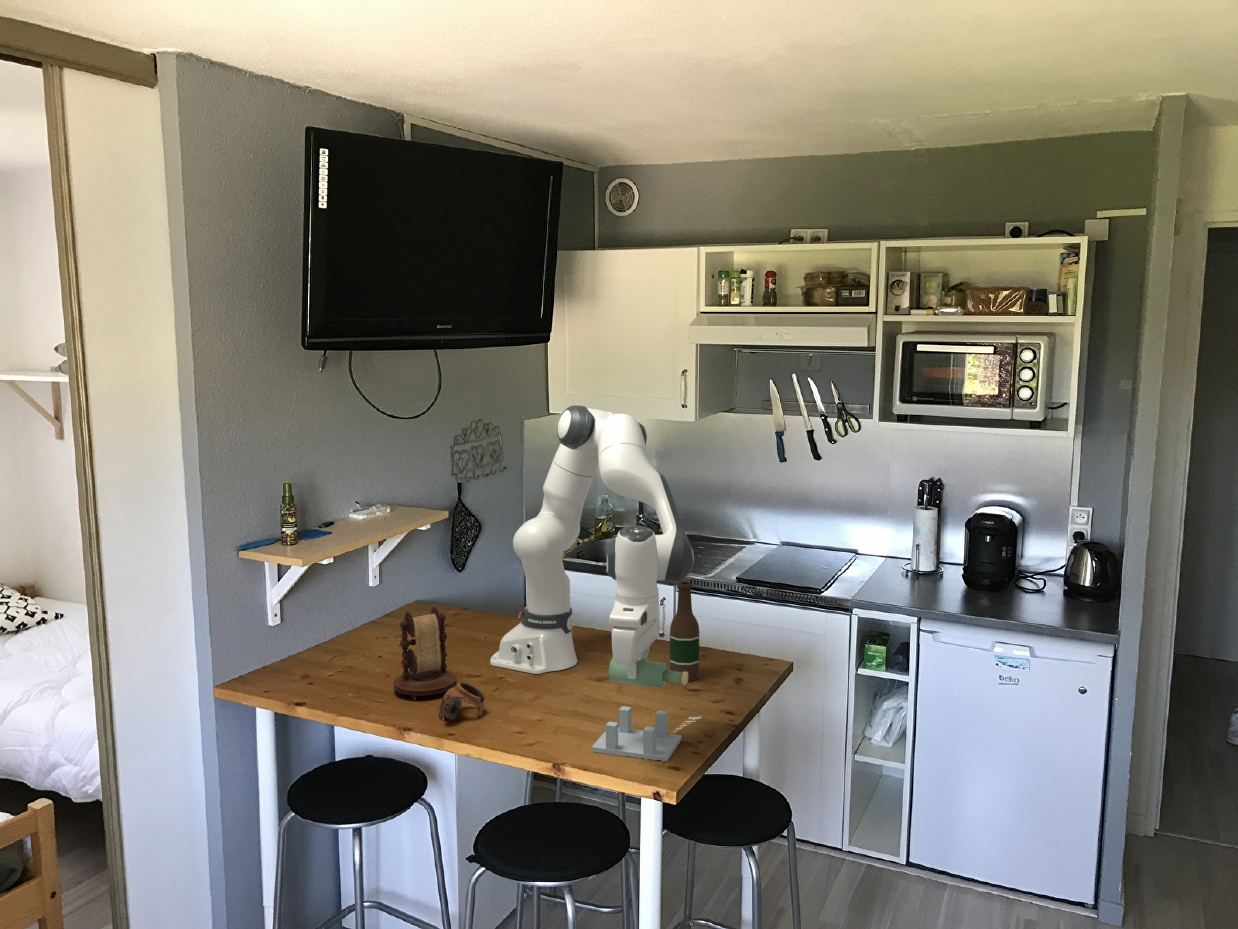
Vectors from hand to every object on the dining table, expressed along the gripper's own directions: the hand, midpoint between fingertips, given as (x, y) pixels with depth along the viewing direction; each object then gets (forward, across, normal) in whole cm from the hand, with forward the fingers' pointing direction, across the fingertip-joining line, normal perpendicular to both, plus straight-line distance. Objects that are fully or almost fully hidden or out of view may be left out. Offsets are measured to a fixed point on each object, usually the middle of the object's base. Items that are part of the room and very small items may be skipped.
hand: (637, 672), depth 203 cm
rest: (+16, 0, 0) cm, 16 cm away
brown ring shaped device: (+16, -3, -43) cm, 46 cm away
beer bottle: (+16, -42, -1) cm, 45 cm away
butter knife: (+16, -8, +5) cm, 19 cm away
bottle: (+2, 0, +3) cm, 3 cm away
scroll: (+16, -15, -58) cm, 62 cm away
